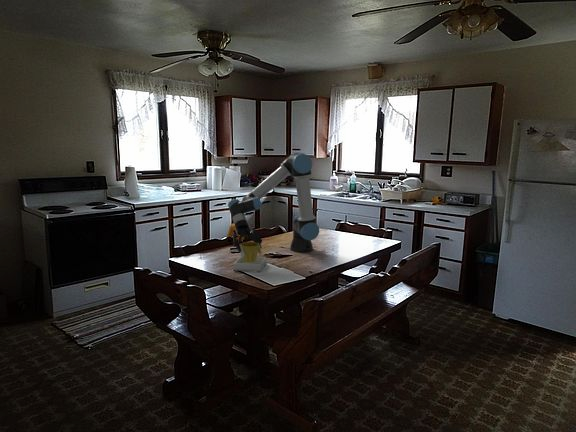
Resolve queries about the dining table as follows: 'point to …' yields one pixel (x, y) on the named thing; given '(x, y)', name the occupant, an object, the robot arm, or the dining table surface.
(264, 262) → the tray
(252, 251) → the plant pot
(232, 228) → the orange irregular lump
